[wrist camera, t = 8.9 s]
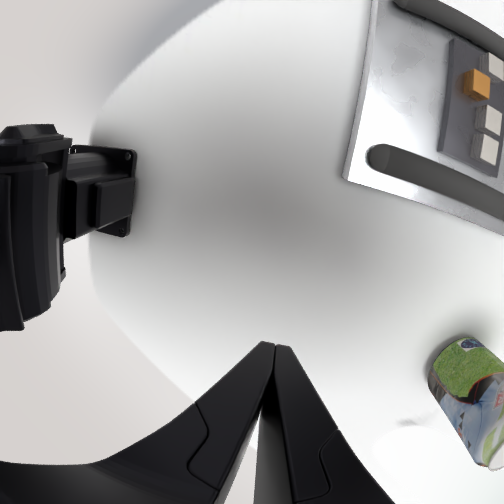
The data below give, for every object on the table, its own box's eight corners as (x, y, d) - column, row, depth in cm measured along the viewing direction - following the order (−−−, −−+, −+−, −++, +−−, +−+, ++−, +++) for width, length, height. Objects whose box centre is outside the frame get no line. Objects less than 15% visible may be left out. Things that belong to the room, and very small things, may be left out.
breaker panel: (341, 177, 17) (354, 183, 13) (372, -6, 12) (386, -38, 8) (502, 234, 16) (536, 253, 12) (525, 73, 11) (557, 66, 7)
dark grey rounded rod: (363, 167, 14) (370, 169, 13) (370, 139, 14) (377, 138, 12) (519, 229, 13) (532, 235, 12) (524, 207, 13) (538, 212, 11)
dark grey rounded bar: (389, 7, 11) (395, -4, 9) (390, -10, 10) (396, -22, 9) (538, 92, 10) (551, 90, 8) (537, 74, 9) (549, 71, 8)
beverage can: (411, 381, 21) (444, 494, 10) (454, 312, 19) (526, 419, 7) (457, 388, 21) (496, 482, 10) (498, 326, 18) (564, 414, 7)
